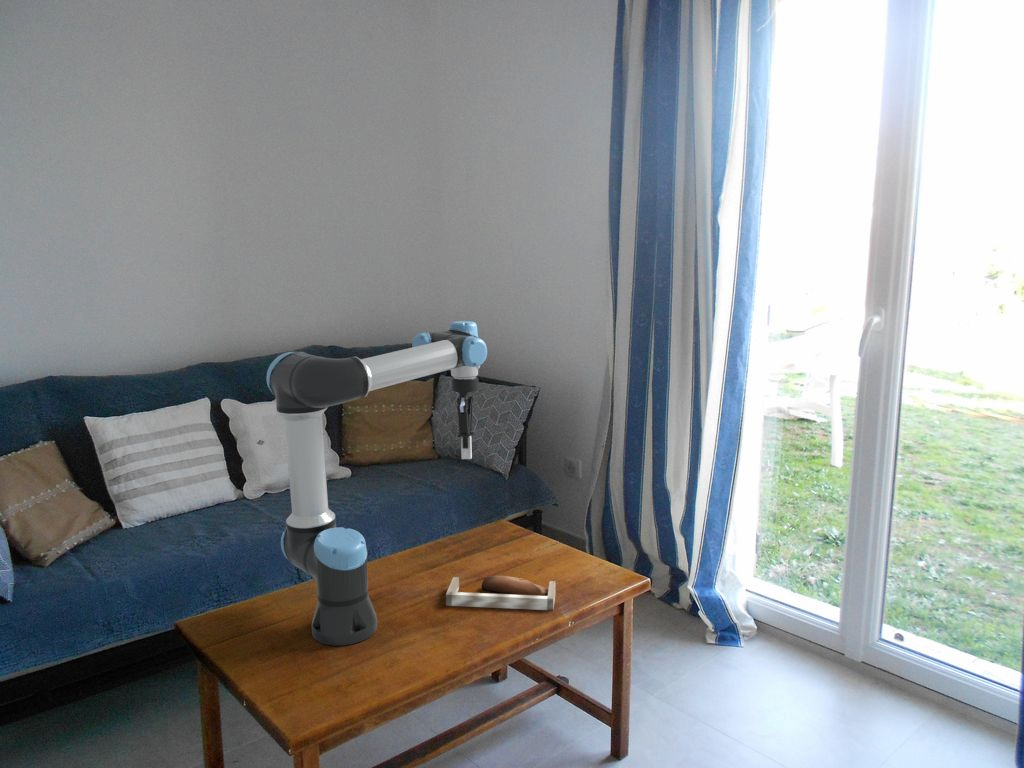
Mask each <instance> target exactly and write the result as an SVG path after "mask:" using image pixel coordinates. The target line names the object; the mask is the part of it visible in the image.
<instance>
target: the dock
mask: <svg viewBox="0 0 1024 768" xmlns="http://www.w3.org/2000/svg"><path fill="white" fill-rule="evenodd" d="M556 587H557V586H556V581H555V580H554V581H553V580H549V584H548V589H549V590H548V596H534V595H511V594H506V593H489V592H487V593H485V592H483V593H482V592H481V593H480V592H461V591H460V592H459V589H460V578H459V576H452V579H451V582H450V583H449V586H448V589H447V591H446V592H445V606H447V607H449V606H450V607H469V608H472V607H473V608H493V609H494V608H495V609H513V610H515V609H516V610H518V609H519V610H537V611H539V610H540V611H554V609H555V608H554V607H555V600H556V599H555V598H556Z"/></svg>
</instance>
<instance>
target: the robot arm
mask: <svg viewBox="0 0 1024 768" xmlns="http://www.w3.org/2000/svg"><path fill="white" fill-rule="evenodd" d="M449 325H450V326H449V329H448V330H441V331H440V330H439V331H430V332H427V331H425V332H422V333H417V334H416V335H415V336H414V337H413V339H412V343H411V345H412V347H409V348H404V349H400V350H395V351H392V352H387V353H384V354H383V353H382V354H378V355H375V356H374V355H373V356H370V357H366V358H359V357H357V356H350V357H346V358H345V357H344V358H332V357H331V358H330V357H324V356H318V355H313V354H309V353H307V352H305V351H289V352H284V353H282V354H280V355H278V356H277V357H275V358H274V359H273V361H272V362H271V363H270V364H269V366H268V369H267V372H266V384H267V388H268V390H269V391H270V392H271V394H272V395H273V396H275V405H276V406H275V407H276V413H277V414H279V415H280V416H281V417H282V418H283V419H284V431H285V442H286V454H287V467H288V479H289V491H290V503H291V513H290V515H289V516H288V517H287V518H286V521H285V522H286V527H285V529H284V531H282V535H281V538H280V548H281V551H282V554H283V555H284V557H285V558H286V559H287V561H289V562H290V564H291V565H292V566H295V567H296V568H297V569H300V570H301V571H302V572H304V573H306V574H307V575H309V576H311V578H314V579H315V580H316V591H317V593H316V594H317V602H316V603H317V604H316V607H315V611H314V615H313V618H312V620H311V621H312V622H311V636H312V637H313V639H314V640H315V641H316V642H318V643H320V644H323V645H328V646H339V647H340V646H341V647H342V646H349V645H353V644H358V643H360V642H363V641H365V640H367V639H368V638H370V637H372V636H373V635H374V633H375V632H376V631H377V629H378V617H377V613H376V611H375V608H374V605H373V603H372V601H371V599H370V596H369V578H368V550H367V548H368V547H367V545H366V539H365V537H364V536H363V535H362V533H360V532H359V531H357V530H355V529H353V528H345V527H342V526H340V527H337V520H336V514H335V512H333V511H332V510H331V509H330V508H329V500H328V499H329V498H328V487H327V475H326V474H327V473H326V457H325V447H324V446H325V444H324V432H323V419H322V418H323V417H322V415H323V414H324V412H326V410H327V409H328V408H329V407H333V406H337V405H341V404H344V403H345V404H346V403H349V402H352V401H355V400H359V399H362V398H366V397H367V396H368V394H369V392H371V391H375V390H378V389H379V390H380V389H382V388H386V387H389V386H393V385H397V384H401V383H404V382H408V381H413V380H415V379H419V378H424V377H427V376H431V375H434V374H438V373H443V372H445V371H450V375H451V377H452V378H451V391H452V392H454V393H458V394H459V395H458V398H457V400H456V401H457V404H456V409H457V415H458V416H457V417H458V429H459V430H458V431H459V434H458V435H457V436H458V438H460V449H461V451H460V452H461V455H460V456H461V460H472V457H473V453H472V446H473V445H472V436H474V434H475V432H473V417H474V416H473V415H474V414H473V413H474V409H473V408H474V406H473V405H474V399H475V398H474V396H473V395H472V393H476V392H477V391H479V377H478V375H479V369H480V368H481V365H483V363H484V362H485V361H486V359H487V357H488V356H487V355H488V348H487V347H488V346H487V344H486V343H485V341H484V340H483V339H481V338H480V337H479V334H478V332H479V331H478V325H477V323H476V322H474V321H472V320H471V321H470V320H458V321H457V320H456V321H455V320H454V321H452V322H451V323H450V324H449Z"/></svg>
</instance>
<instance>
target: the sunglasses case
mask: <svg viewBox="0 0 1024 768" xmlns="http://www.w3.org/2000/svg"><path fill="white" fill-rule="evenodd" d="M481 589H482V590H485V591H492V592H497V593H502V594H511V595H534V596H548V590H549V588H547V587H544V586H541V585H539V584H537V583H536V584H535V583H533V582H532V581H530V580H528V579H524V578H523V577H522V578H521V577H516V576H509V575H489V576H486V577H484V578H483V581H482V583H481Z"/></svg>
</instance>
